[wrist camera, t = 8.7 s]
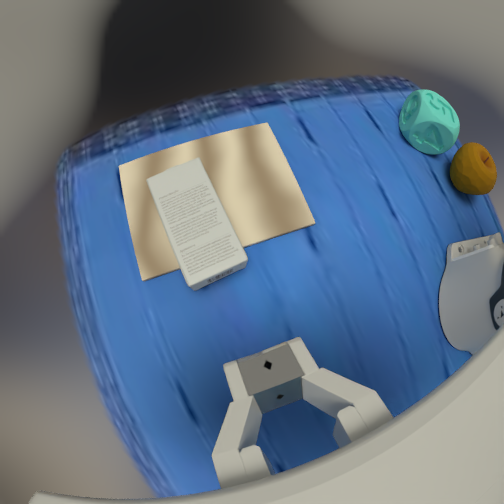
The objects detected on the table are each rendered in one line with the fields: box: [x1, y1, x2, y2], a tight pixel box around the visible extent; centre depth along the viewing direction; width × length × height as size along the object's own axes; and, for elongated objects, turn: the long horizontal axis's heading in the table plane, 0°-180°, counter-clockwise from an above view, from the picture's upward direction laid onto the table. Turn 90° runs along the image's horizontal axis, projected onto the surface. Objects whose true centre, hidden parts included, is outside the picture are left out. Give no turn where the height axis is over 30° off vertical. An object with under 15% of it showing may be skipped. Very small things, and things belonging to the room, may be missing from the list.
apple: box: [450, 142, 497, 195], centre depth 31 cm, size 8×8×9 cm
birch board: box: [119, 123, 315, 281], centre depth 31 cm, size 20×15×1 cm
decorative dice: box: [399, 90, 460, 154], centre depth 33 cm, size 8×8×8 cm
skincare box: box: [146, 157, 248, 291], centre depth 27 cm, size 6×4×12 cm
